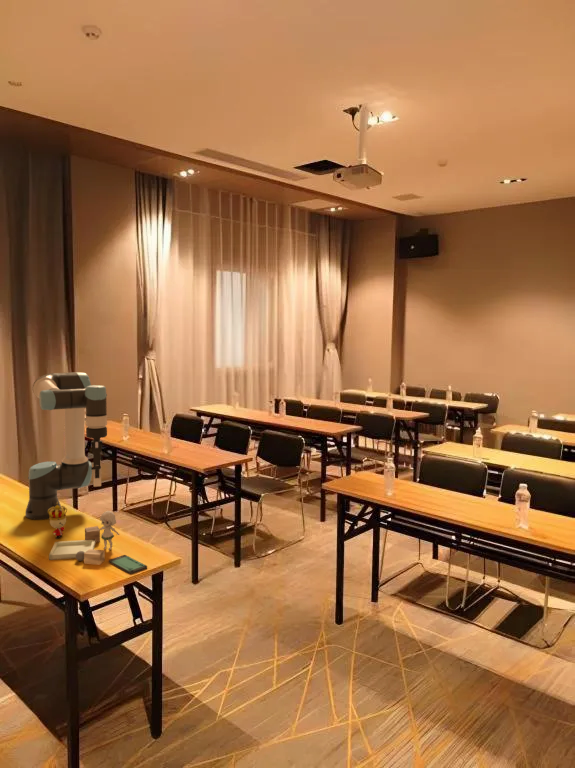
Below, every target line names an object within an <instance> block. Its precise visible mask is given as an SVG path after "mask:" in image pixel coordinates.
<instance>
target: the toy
mask: <svg viewBox="0 0 575 768" xmlns="http://www.w3.org/2000/svg"><path fill="white" fill-rule="evenodd" d="M59 502H60V501H59ZM59 502H57V503H59ZM53 508H54V509H53ZM60 508H61V509H60ZM49 510H50V511H49ZM54 510H55V512H53V511H54ZM60 510H61V511H60ZM67 511H68V508H67V507H66V506H64V505H61V507H60V506H59V505H58V504H57V505H56V506H55V507H54V506H53V507H51V508H50V509H48V513H49V525H50V526H51V527H52V528H54V529H55V530H54V531H52V534H53V536H55V539H61V538H62V537H63V534H64V533H63V531H64V530H65V525H66V524H67V523H66V522H67Z"/></svg>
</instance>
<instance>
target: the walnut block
mask: <svg viewBox="0 0 575 768" xmlns="http://www.w3.org/2000/svg"><path fill="white" fill-rule="evenodd" d="M99 529H100V528H99V526H98V525H96V526H88V527H84V540H94V539H95V544H96V543H101V530H100V531H99V532H98V530H99Z"/></svg>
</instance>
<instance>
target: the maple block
mask: <svg viewBox="0 0 575 768" xmlns="http://www.w3.org/2000/svg"><path fill="white" fill-rule="evenodd" d="M105 552H106V549H95V548H94V549H89V550H87V551H86V552H85V553H84V560H83V562H84V563H83V564H85V565H98V566H99V565H101V564H103V562H104V561H105V559H106V557H105Z"/></svg>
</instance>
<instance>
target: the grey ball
mask: <svg viewBox="0 0 575 768" xmlns="http://www.w3.org/2000/svg"><path fill="white" fill-rule="evenodd" d="M84 553H85V552H83V551H79V552H78V553H77V554H76V558H75V559H76V560H77V561H79V562H83V561H84Z"/></svg>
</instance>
